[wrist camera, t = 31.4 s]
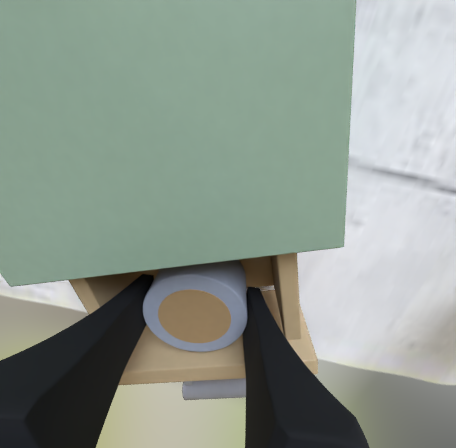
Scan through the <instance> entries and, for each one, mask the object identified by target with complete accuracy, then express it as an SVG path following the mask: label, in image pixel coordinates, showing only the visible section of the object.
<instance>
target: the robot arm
mask: <svg viewBox="0 0 456 448" xmlns="http://www.w3.org/2000/svg"><path fill="white" fill-rule="evenodd" d="M153 281H154V275H149V274H142V275H140V276H139V277H138V278H137V279H136V280H134V281H133V282H132V283H131V284H129V285H128V286H127V287H126V288H125V289H123V290H122V291H121V292H120V293H118V294H117V295H116V296H114V297H113V298H112V299H111V300H109V301H108V302H107V303H105V304H104V305H102V306H101V307H100V308H98V309H97V310H95V311H94V312H92V313H91V314H89V315H88V316H86V317H85V318H83V319H82V320H80V321H78V322H77V323H75V324H74V325H72V326H70V327H69V328H67V329H65V330H63V331H61V332H59V333H57V334H56V335H54V336H52V337H50V338H48V339H46V340H44V341H42V342H40V343H38V344H36V345H34V346H32V347H30V348H28V349H26V350H24V351H21V352H19V353H17V354H15V355H13V356H10V357H8V358H6V359H3V360H1V361H0V448H96V444H97V442H98V439H99V436H100V433H101V430H102V427H103V425H104V422H105V419H106V416H107V413H108V411H109V408H110V406H111V403H112V400H113V398H114V395H115V392H116V390H117V387H118V385H119V382H120V380H121V377H122V375H123V372H124V370H125V367H126V365H127V363H128V361H129V359H130V357H131V355H132V353H133V351H134V349H135V347H136V345H137V343H138V341H139V339H140V337H141V335H142V333H143V331H144V329H145V327H146V325H147V324H146V322H145V319H144V316H143V302H144V298H145V296H146V294H147V292H148V290H149V288H150V286H151V285H152V283H153ZM247 315H248V319H247V324H246V327H245V329H244V331H243V333H242V335H243V348H244V361H245V373H246V438H245V448H369V445H368V443H367V440H366V438H365V435H364V433H363V431H362V429H361V427H360V425H359V423H358V421H357V419H356V417H355V416H354V415H353V414H352V413H351V412H350V411H349V410H347V409H346V408H345V407H344V406H343V405H342V404H341V403H340V402H339V401H338V400H337V399H336V398H335V397H334V396H333V395H332V394H331V393H330V392H329V391H328V390H327V389H326V388H325V387H324V386H323V385H322V383H321V382H320V381H319V380H318V379H317V378H316V377H315V375H314V374H313V373H312V372H311V371H310V369H309V368H308V367H307V366H306V365H305V364H304V362H303V361H302V360H301V358H300V357H299V356H298V355H297V353H296V352H295V350H294V349H293V348H292V346H291V345H290V343H289V342H288V340H287V339H286V337H285V336H284V334H283V333H282V331H281V329H280V328H279V326H278V324H277V323H276V321H275V319H274V317H273V315H272V314H271V312H270V310H269V308H268V306H267V304H266V302H265V299H264V297H263V295H262V292H261V290H260V289H259V288H255V287H248V289H247Z"/></svg>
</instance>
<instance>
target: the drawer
mask: <svg viewBox="0 0 456 448" xmlns="http://www.w3.org/2000/svg"><path fill="white" fill-rule="evenodd" d="M239 261H240V262H241V264H242V266H243V268H244V270H245V274H246V288H248V287H261V286H271V285H274V289H275V290H268V291H261V292H262V295H263V297H264V299H265V302H266V304H267V306H268V308H269V310H270V312H271V314H272V315H273V317H274V319H275V321H276V323H277V324H278V326H279V328H280V329H281V331H282V333H283V334H284V336H285V337H286V339H287V340H288V342H289V343H290V345H291V346H292V348H293V349H294V350H295V352H296V353H297V355H298V356H299V357H300V358H301V360H302V361H303V362H304V364H305V365H306V366H307V367H308V368H309V369H310V371H311V372H312V373H313V374H317V373H318V359H317V356H316V353H315V350H314V347H313V344H312V341H311V338H310V335H309V332H308V328H307V325H306V322H305V319H304V316H303V313H302V310H301V307H300V304H299V286H298V268H297V253H290V254H281V255H273V256H265V257H256V258H248V259H239ZM158 271H159V269H155V270H147V271H139V272H130V273H122V274H113V275H105V276H97V277H88V278H80V279H71V280H69V282H70V283H71V285H72V287H73V288H74V290H75V292H76V293H77V295H78V297H79V299H80V300H81V302H82V304H83V305H84V307H85V309H86V310H87V312H88V314H91V313H92V312H94V311H95V310H97V309H98V308H100V307H101V306H102V305H104V304H105V303H107V302H108V301H109V300H111V299H112V298H113V297H114V296H116V295H117V294H118V293H120V292H121V291H122V290H123V289H125V288H126V287H127V286H128V285H129V284H131V283H132V282H133V281H134V280H136V279H137V278H138V277H139V276H140V275H142V274H149V275H154V279H155V277H156V275H157V273H158ZM167 382H183V388H182V393H183V398H184V400H197V399H218V398H242V397H246V373H245V361H244V348H243V335H241V336H240V337H239V338H238V339H237V340H236V341H235V342H233V343H232V344H230V345H228V346H226V347H224V348H221V349H218V350H214V351H207V352H195V351H187V350H183V349H179V348H176V347H174V346H171V345H169V344H167V343H166V342H164V341H162V340H161V339H159V338H158V337H157V336H156V335H155V334H154V333H153V332H152V331H151V330H150V328H149V327H148V326H147V325H146V327H145V329H144V331H143V333H142V335H141V337H140V339H139V341H138V343H137V345H136V347H135V349H134V351H133V353H132V355H131V357H130V359H129V361H128V363H127V365H126V367H125V370H124V372H123V375H122V377H121V380H120V382H119V385H131V384H149V383H167Z"/></svg>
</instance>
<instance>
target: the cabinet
mask: <svg viewBox="0 0 456 448" xmlns="http://www.w3.org/2000/svg"><path fill="white" fill-rule="evenodd" d="M355 16H356V0H0V273H1V275H2V276H3V278H4V279H5V280H6V282H7V283H8V284H9V286H11V287H13V286H21V285H29V284H38V283H46V282H55V281H63V280H71V279H80V278H88V277H97V276H105V275H113V274H122V273H130V272H139V271H147V270H155V269H164V268H172V267H181V266H189V265H197V264H206V263H214V262H223V261H231V260H239V259H248V258H256V257H265V256H273V255H281V254H290V253H298V252H307V251H315V250H323V249H332V248H340V247H344V235H345V215H346V195H347V175H348V155H349V135H350V115H351V96H352V76H353V56H354V36H355Z"/></svg>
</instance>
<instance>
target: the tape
mask: <svg viewBox="0 0 456 448" xmlns="http://www.w3.org/2000/svg"><path fill="white" fill-rule="evenodd" d="M143 316H144V319H145V322H146V324H147V326H148V327H149V328H150V330H151V331H152V332H153V333H154V334H155V335H156V336H157V337H158V338H159V339H161V340H162V341H164V342H166V343H167V344H169V345H171V346H174V347H176V348H179V349H183V350H187V351H195V352H207V351H214V350H218V349H221V348H224V347H226V346H228V345H230V344H232V343H233V342H235V341H236V340H237V339H238V338H239V337H240V336H241V335H242V333H243V331H244V329H245V327H246V324H247V319H248V315H247V291H246V274H245V270H244V268H243V266H242V264H241V262H240V261H239V260H231V261H223V262H214V263H206V264H197V265H189V266H181V267H172V268H164V269H159V271H158V273H157V275H156V277H155V279H154V281H153V283H152V285H151V286H150V288H149V290H148V292H147V294H146V296H145V298H144V302H143Z"/></svg>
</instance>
